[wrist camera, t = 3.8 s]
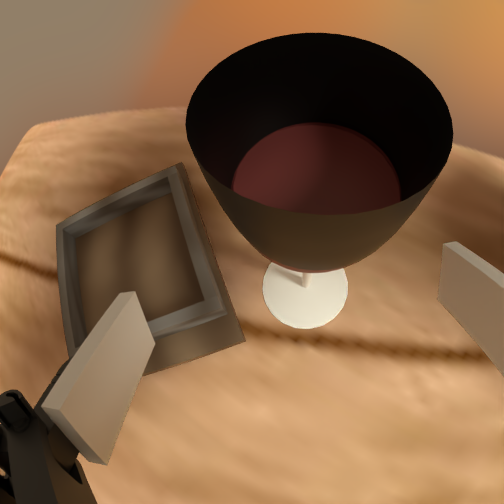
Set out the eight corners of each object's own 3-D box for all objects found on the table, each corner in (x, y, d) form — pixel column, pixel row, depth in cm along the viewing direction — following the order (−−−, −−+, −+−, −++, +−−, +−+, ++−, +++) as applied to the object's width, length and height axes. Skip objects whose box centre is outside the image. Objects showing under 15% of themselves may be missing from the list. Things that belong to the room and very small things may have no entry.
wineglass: (366, 267, 26) (463, 81, 8) (319, 352, 24) (406, 283, 5) (291, 226, 28) (280, 19, 10) (240, 304, 26) (130, 144, 8)
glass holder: (185, 168, 33) (174, 147, 30) (246, 341, 25) (238, 335, 21) (70, 223, 32) (53, 209, 29) (95, 389, 24) (72, 388, 21)
